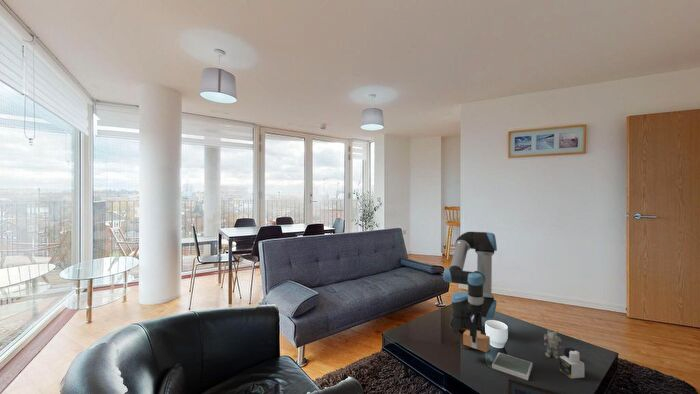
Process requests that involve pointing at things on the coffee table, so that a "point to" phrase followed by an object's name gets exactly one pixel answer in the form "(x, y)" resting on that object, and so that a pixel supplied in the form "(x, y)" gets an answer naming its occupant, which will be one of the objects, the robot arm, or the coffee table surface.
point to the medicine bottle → (572, 364)
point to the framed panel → (512, 366)
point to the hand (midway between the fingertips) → (476, 345)
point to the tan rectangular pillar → (482, 341)
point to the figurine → (552, 343)
